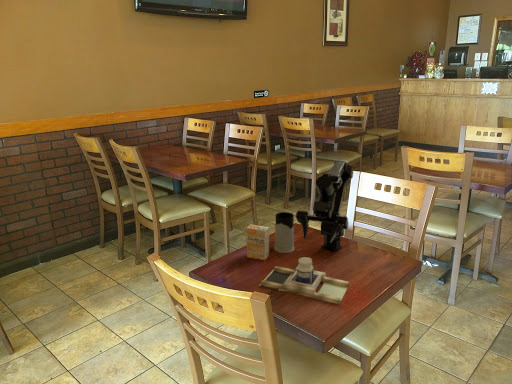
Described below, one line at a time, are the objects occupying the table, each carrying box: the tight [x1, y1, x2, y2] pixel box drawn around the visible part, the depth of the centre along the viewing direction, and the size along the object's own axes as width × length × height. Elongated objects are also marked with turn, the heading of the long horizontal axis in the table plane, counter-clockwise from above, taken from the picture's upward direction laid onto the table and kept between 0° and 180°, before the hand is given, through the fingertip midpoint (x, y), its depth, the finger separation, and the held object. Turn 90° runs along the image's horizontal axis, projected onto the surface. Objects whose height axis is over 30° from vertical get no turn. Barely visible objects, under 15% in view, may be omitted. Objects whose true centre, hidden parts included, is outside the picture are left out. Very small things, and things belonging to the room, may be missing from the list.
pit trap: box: [258, 269, 292, 292], centre depth 144 cm, size 8×14×1 cm, turn 154°
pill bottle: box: [296, 256, 314, 285], centre depth 138 cm, size 6×6×10 cm
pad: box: [317, 282, 349, 301], centre depth 135 cm, size 8×10×1 cm
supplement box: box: [245, 223, 270, 261], centre depth 159 cm, size 8×5×13 cm, turn 68°
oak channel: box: [260, 265, 350, 305], centre depth 139 cm, size 28×13×3 cm, turn 64°
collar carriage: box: [287, 270, 321, 289], centre depth 139 cm, size 9×9×2 cm
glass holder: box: [273, 211, 295, 254], centre depth 169 cm, size 9×14×15 cm, turn 156°
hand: (317, 240), depth 142 cm, fingers open, 9 cm apart
